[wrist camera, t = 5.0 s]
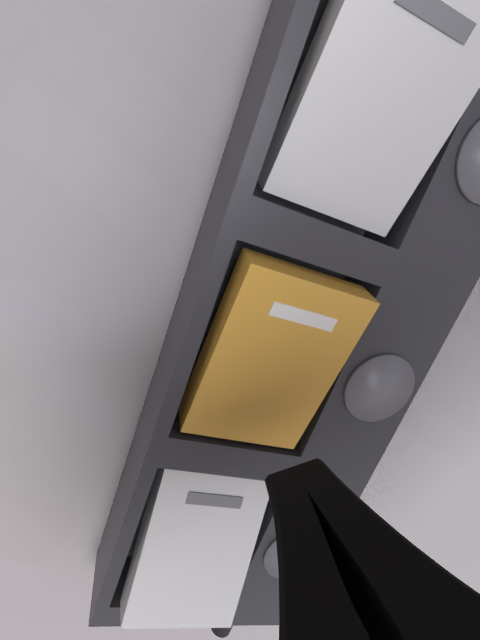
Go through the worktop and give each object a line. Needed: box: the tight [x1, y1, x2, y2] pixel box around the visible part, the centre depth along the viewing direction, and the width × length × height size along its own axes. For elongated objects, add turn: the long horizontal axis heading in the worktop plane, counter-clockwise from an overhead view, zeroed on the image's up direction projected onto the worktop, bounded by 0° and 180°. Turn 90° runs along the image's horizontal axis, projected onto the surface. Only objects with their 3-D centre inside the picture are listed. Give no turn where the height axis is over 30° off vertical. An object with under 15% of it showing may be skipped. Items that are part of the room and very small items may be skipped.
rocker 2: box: [257, 0, 480, 237], centre depth 12 cm, size 5×7×2 cm
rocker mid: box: [179, 247, 380, 449], centre depth 15 cm, size 5×7×2 cm
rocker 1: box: [120, 468, 269, 629], centre depth 17 cm, size 5×7×2 cm
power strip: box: [89, 0, 480, 638], centre depth 17 cm, size 10×32×4 cm, turn 160°
